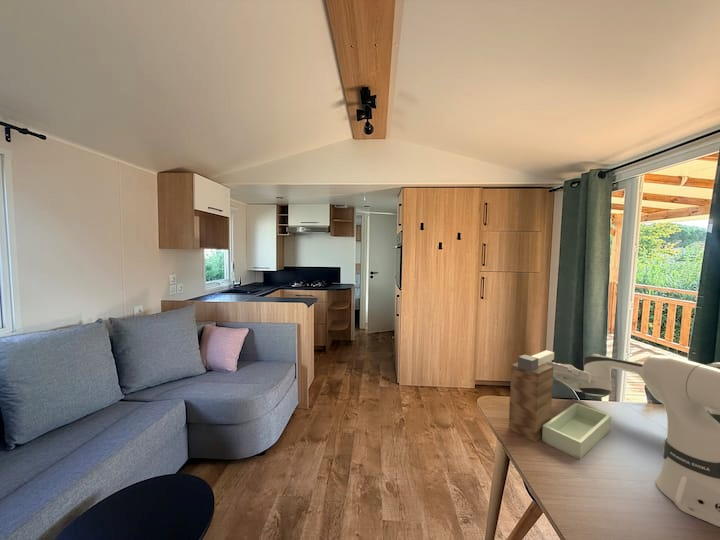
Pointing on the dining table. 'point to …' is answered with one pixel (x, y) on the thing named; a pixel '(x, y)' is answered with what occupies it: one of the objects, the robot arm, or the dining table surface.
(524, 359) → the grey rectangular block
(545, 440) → the bin
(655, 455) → the dining table surface
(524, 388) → the stand
